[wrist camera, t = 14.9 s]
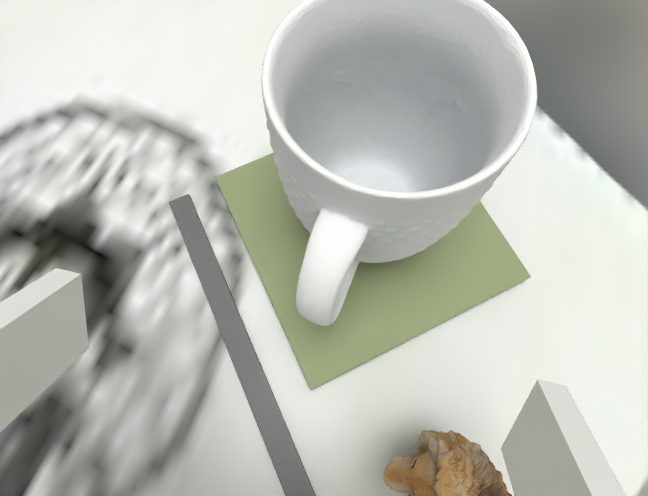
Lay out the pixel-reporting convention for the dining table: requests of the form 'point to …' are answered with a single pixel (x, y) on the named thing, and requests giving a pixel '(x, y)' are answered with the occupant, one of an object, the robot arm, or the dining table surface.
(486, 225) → the mat
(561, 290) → the dining table surface
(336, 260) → the mug
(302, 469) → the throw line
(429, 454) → the lion figurine
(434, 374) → the dining table surface
